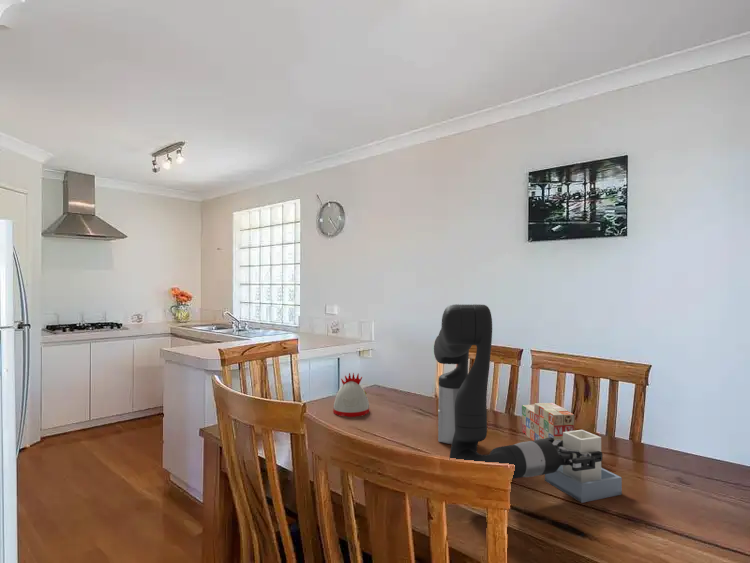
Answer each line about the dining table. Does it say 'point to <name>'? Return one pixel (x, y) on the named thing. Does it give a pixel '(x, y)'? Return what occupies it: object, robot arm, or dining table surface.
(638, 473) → the dining table surface
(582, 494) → the slate crate
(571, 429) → the stack of blocks
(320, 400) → the dining table surface
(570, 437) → the cream caddy
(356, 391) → the kitchen timer
